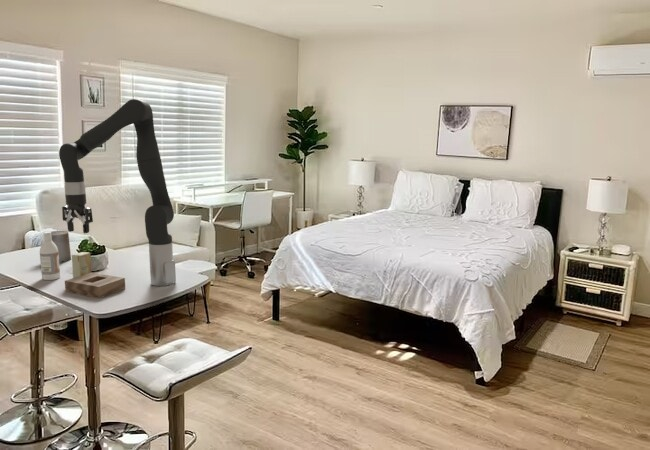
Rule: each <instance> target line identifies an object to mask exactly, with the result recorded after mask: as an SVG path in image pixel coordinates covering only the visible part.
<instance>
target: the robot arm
mask: <svg viewBox="0 0 650 450" xmlns="http://www.w3.org/2000/svg"><path fill="white" fill-rule="evenodd" d="M132 124H133V125H134V130H135V133H136V150H135V151H136V154H135V156H136V157H135V158H136V163H137V164H136V165H137V169H138V171H139V175H140V177H141V179H142V181H143V183H144V184H145V186H146V187H147V189H148V191H149V193H150V195H151V202H152V205H151V206H149V207H147V209H146V211H145V213H144V223H145V224H144V226H145V234H146V237H147V240H148V252H149V254H148V255H149V256H148V257H149V274H150V285H151V286H157V287H167V286H170V285H172V284H174V283H177V278H176V274H177V273H176V261H175V260H174V257H173V255H174V253H173V237H172V236H173V235H171V234H169V231H168V225H169V224H171V223H172V222H173V219H175V217H174V216H175V212H174V211H175V210H174V208H173V204H172V201H171V198H170V195H169V192H168V187H167V183H166V179H165V174H164V168H163V164H162V157H161V153H160V150H159V146H158V141H157V137H156V133H155V125H154V114H153V108H152V107H151V105H150V104H149V103H148V102H147V101H145V100H142V99H139V98H131V99H129V100H127V101H126V102H125V103H123V105H122V106H120V107H119V108H118V109H117V110H116V111H115V112H114V113H113V114H111V115H110V116H109V117H107V118H106V119H105V120H103V121H101V122H100V123H98V124H97V125H96V126H94V127H92V128H90V129H89V130H87V131H85V132H84V133H83V134H81V135H80V137H79V138H78V139H77V140H75V141H74V142H67V143H63V144H62V145H61V146H60V147H59V151H58V158H59V161H60V164H61V167H62V170H63V174H64V175H63V177H64V196H65V205H63V206H62V207H61V211H62V221H63V222H64V221H65V222H66V224H67V231H68V233H69V232H74V230H75V228H74V227H75V226H74V220H75V219H79V221H81V223H82V231H83V232H82V233H83V234H88V233H89V232H90V224H91V223H93V222H94V219H93V212H92V208H91V207H86V206H85V205H87V195H86V193H87V192H86V185H85V176H84V170H83V168H82V167H80V165H79V161H80V160H81V159H83V158H85V157H87V156H88V154H90V153H91V152H92V151H94V150H95V149H97V148H99V147H100V146H102V145H103V144H105V143H106V142H108V141H109V140H110V139H112V138H113V136H115V135H116V133H117V132H119V131H120V130H122V129H124V128H126V127H127V126H130V125H132Z"/></svg>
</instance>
